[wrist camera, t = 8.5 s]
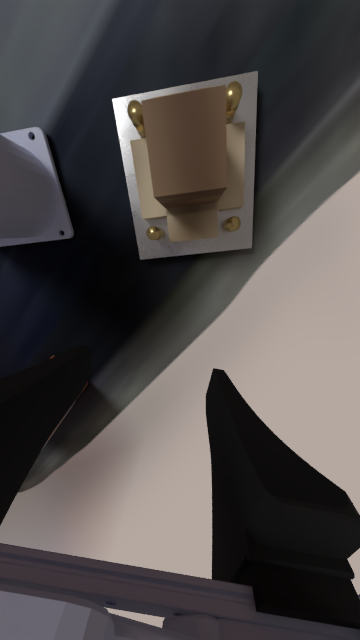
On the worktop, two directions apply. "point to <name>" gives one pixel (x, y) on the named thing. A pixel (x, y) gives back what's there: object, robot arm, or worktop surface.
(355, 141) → the worktop surface
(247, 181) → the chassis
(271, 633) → the robot arm
